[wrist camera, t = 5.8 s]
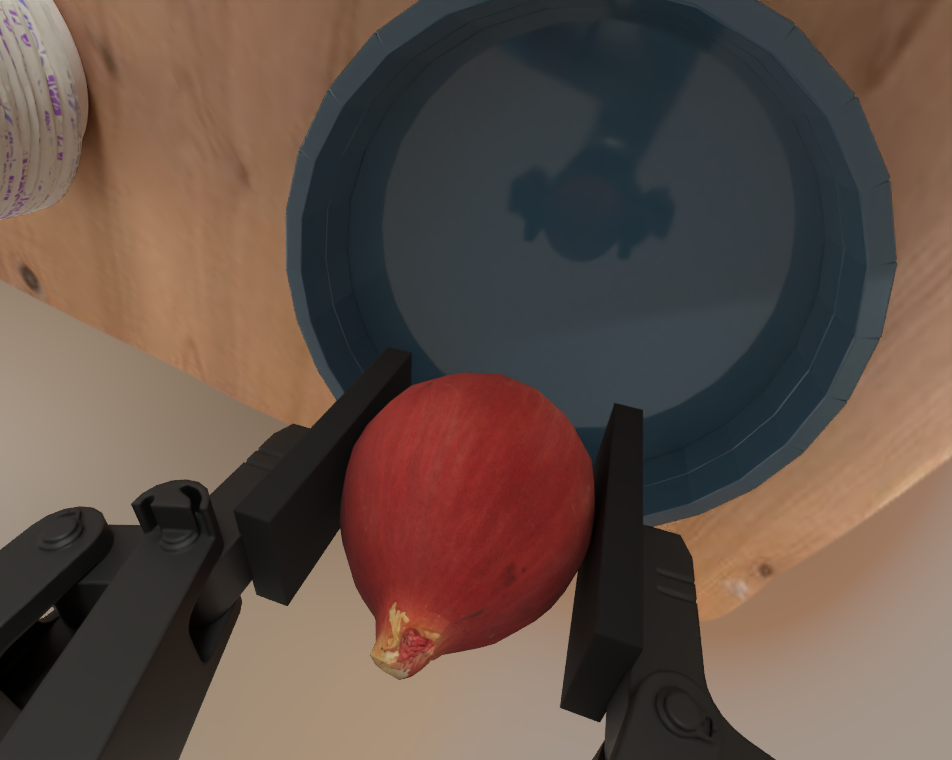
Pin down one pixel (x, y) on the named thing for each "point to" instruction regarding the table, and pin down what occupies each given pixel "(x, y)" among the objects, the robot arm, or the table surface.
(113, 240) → the table surface
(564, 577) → the onion
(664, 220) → the bowl
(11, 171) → the paper bowls
